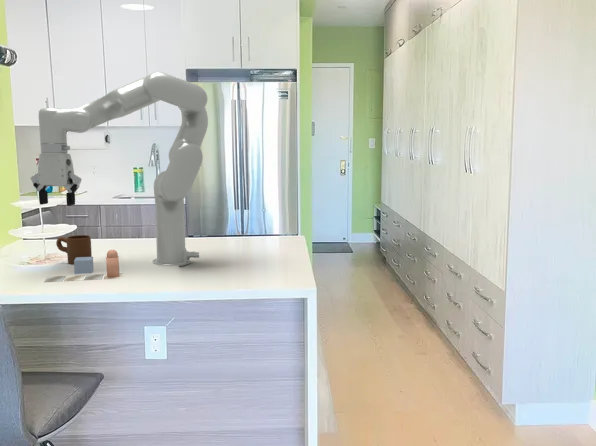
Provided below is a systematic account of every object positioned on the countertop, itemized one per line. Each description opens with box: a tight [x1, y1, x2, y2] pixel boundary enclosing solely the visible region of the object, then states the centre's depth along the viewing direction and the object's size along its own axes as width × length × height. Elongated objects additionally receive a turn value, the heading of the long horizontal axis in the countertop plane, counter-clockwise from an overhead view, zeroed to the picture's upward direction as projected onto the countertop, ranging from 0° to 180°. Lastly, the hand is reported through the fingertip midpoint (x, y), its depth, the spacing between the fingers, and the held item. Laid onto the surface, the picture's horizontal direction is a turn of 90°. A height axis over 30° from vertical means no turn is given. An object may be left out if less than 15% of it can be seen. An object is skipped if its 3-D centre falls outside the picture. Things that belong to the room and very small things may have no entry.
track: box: [43, 272, 123, 283], centre depth 170 cm, size 22×7×1 cm, turn 104°
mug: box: [55, 234, 93, 266], centre depth 189 cm, size 12×8×9 cm, turn 80°
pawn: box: [105, 249, 120, 278], centre depth 171 cm, size 4×4×8 cm
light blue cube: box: [73, 256, 94, 275], centre depth 177 cm, size 5×5×5 cm
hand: (57, 204), depth 175 cm, fingers open, 9 cm apart
